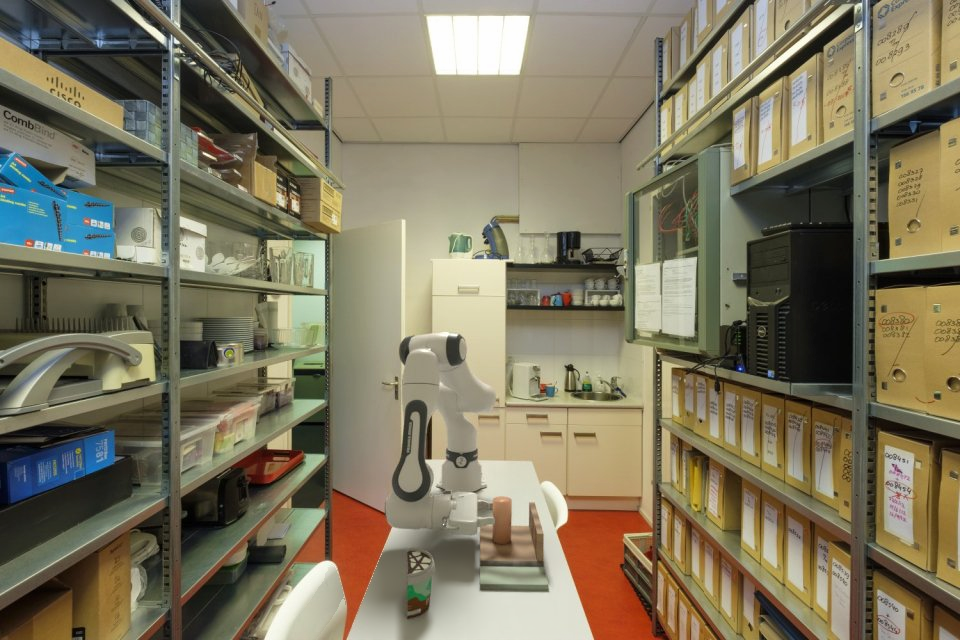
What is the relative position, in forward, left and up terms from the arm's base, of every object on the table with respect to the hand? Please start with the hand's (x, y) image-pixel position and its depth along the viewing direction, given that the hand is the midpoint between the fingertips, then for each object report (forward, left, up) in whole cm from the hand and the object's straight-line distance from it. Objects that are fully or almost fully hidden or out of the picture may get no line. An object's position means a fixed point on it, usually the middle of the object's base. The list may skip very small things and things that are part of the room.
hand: (494, 512), depth 130 cm
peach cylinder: (0, +2, -7) cm, 8 cm away
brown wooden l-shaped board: (+6, +4, -9) cm, 12 cm away
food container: (+26, -17, -10) cm, 32 cm away
